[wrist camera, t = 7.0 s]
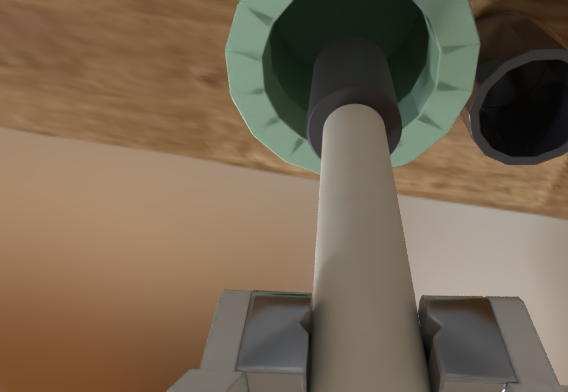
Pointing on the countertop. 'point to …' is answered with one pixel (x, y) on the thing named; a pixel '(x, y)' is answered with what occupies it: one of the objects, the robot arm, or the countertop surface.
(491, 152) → the holder
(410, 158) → the jar
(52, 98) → the countertop surface
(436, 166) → the countertop surface
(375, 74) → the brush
